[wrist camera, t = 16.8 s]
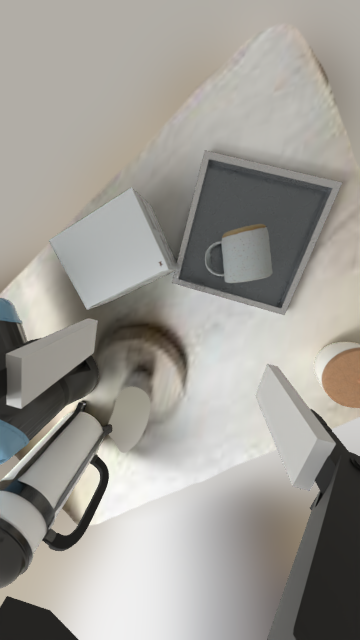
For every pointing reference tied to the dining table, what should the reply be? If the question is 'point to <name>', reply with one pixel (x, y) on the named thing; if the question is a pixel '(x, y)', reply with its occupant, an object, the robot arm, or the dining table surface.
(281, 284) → the square tray
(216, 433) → the dining table surface
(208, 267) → the ceramic mug
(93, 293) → the supplement box
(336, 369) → the lidded jar
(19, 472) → the coffee press
